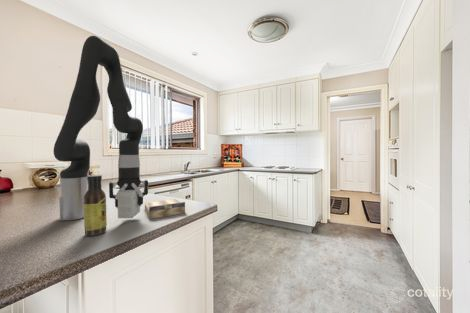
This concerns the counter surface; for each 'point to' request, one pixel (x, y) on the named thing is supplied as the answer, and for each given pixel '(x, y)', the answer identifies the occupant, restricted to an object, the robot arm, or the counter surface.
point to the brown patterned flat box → (164, 208)
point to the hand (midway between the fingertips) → (129, 206)
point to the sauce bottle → (94, 207)
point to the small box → (128, 203)
